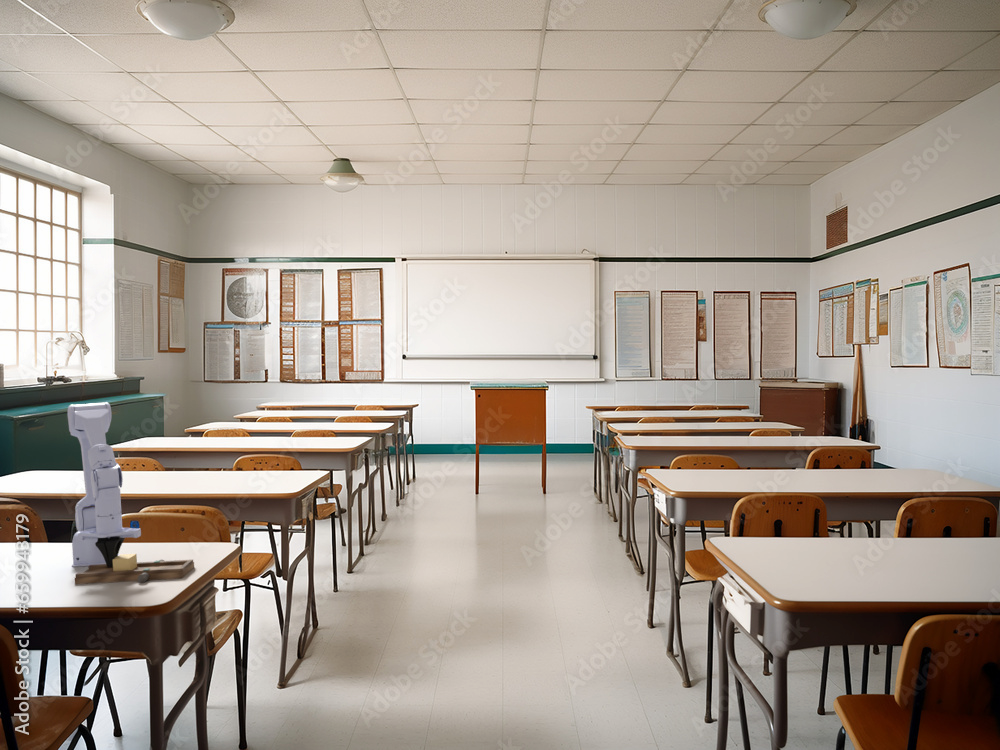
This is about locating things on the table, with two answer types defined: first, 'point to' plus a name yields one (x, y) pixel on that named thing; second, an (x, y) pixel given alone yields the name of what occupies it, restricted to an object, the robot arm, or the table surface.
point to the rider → (125, 562)
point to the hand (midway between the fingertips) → (111, 566)
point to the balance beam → (136, 572)
